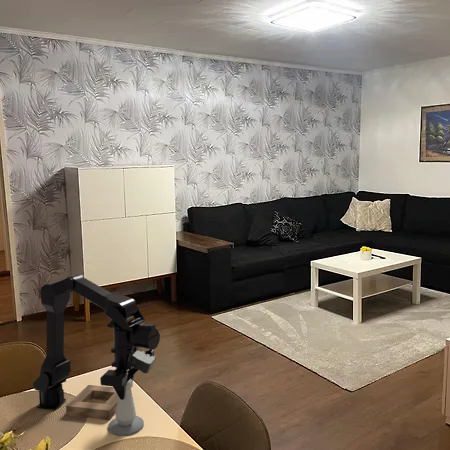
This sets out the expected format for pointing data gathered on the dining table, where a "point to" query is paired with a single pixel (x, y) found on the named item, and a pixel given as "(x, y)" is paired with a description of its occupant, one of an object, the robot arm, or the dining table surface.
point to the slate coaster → (126, 427)
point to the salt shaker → (126, 407)
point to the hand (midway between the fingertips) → (125, 395)
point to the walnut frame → (94, 410)
